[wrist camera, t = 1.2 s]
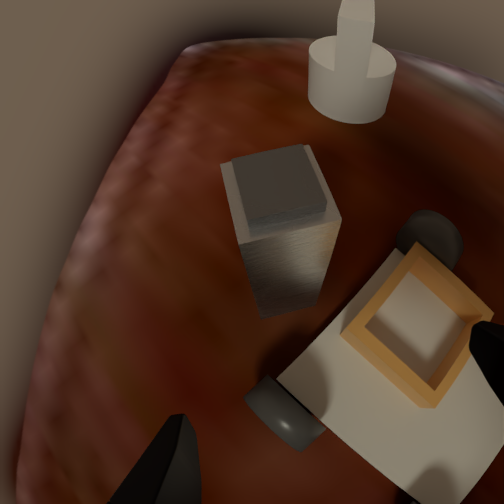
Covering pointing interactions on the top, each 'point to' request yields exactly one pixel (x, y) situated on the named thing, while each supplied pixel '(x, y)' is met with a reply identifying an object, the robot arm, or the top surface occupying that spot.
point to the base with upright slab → (351, 68)
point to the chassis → (399, 373)
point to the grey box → (282, 225)
